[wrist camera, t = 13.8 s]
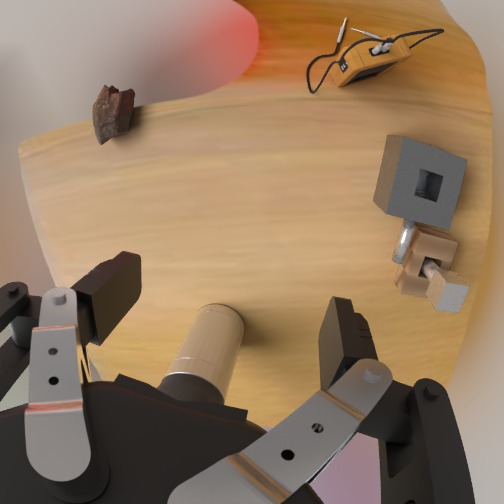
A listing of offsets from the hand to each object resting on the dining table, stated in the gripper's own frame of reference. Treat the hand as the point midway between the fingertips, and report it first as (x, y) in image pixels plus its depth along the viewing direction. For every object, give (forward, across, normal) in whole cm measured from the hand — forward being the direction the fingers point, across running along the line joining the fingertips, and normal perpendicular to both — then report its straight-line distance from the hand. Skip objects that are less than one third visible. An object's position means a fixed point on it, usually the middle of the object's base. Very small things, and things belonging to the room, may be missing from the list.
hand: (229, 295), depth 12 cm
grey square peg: (+32, -25, +8) cm, 41 cm away
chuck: (+33, -19, -1) cm, 38 cm away
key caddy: (+33, -26, +8) cm, 42 cm away
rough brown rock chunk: (+33, +26, -6) cm, 43 cm away
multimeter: (+33, -6, -20) cm, 39 cm away
